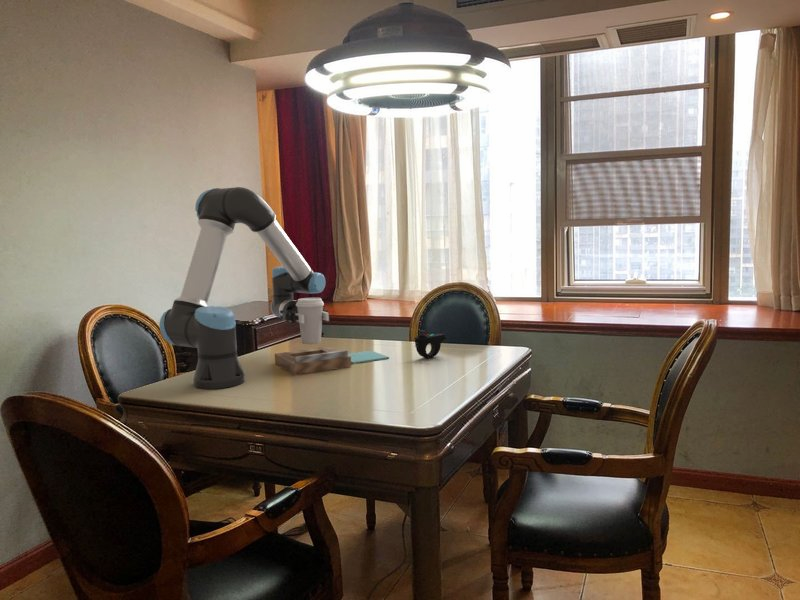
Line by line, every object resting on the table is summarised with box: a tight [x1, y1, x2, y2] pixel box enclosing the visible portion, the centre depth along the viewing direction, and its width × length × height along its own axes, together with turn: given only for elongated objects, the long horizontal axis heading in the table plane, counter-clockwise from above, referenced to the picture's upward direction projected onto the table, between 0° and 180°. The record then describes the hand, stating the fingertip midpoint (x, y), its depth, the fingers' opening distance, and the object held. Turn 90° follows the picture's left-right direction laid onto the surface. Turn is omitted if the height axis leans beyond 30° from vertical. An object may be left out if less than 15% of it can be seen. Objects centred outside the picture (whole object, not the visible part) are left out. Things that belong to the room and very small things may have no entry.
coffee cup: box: [296, 297, 325, 345], centre depth 217 cm, size 10×10×15 cm
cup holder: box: [274, 346, 352, 375], centre depth 218 cm, size 20×20×6 cm
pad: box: [348, 350, 390, 365], centre depth 228 cm, size 14×14×1 cm
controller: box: [414, 329, 447, 359], centre depth 224 cm, size 4×12×10 cm, turn 124°
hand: (315, 318), depth 212 cm, fingers closed on coffee cup, 8 cm apart
